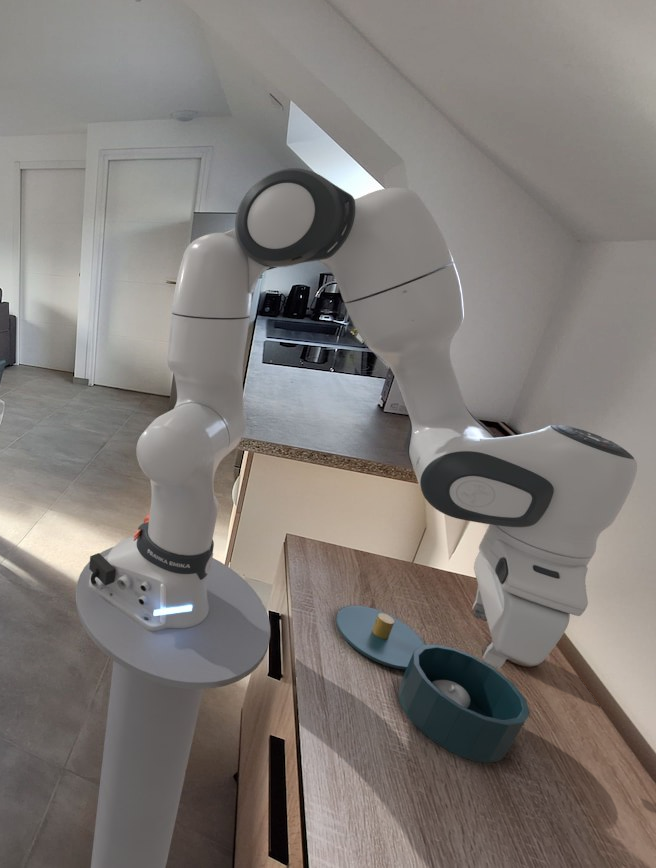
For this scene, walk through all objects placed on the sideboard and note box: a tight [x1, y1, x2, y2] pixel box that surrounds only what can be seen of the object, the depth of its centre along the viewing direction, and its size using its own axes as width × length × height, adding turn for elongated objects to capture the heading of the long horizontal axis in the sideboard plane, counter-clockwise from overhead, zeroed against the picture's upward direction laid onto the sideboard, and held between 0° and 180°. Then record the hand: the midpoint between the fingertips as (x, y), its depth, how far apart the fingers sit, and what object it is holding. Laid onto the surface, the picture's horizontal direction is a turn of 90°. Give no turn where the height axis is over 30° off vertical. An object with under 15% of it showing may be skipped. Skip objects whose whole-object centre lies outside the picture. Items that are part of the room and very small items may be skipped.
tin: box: [397, 643, 531, 764], centre depth 65 cm, size 12×12×8 cm
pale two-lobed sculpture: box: [431, 680, 470, 708], centre depth 66 cm, size 4×8×5 cm
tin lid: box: [335, 604, 426, 671], centre depth 79 cm, size 13×13×5 cm
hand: (484, 637), depth 61 cm, fingers open, 8 cm apart
